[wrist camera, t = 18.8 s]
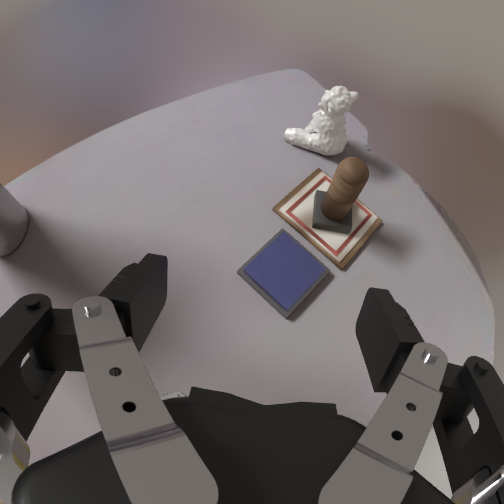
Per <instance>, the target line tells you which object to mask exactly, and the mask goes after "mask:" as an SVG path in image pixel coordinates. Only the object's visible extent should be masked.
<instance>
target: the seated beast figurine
mask: <svg viewBox="0 0 504 504" xmlns="http://www.w3.org/2000/svg"><path fill="white" fill-rule="evenodd" d="M357 98H358V93H357V92H348V90H347V89H346V87H343V86H335V87H333V88H332V90H330V91H329V90H326V91H325V94H324V96H323V97H322V98H321V102H320V103H319V107H320V110H318V111H316V112H314V113H313V115H312V116H313V119H312V121H311V122H310V125H308V126H307V127H306V128H305V130H303V129H300V128H287V130H286V132H285V135H284V139H285V140H286V141H287V142H289V143H291V145H296V146H299V147H302V148H305V149H306V150H311V151H313V152H317V153H320V154H322V155H326V156H330V155H336V154H338V153H340V152H343V150H344V148H345V146H346V144H347V143H348V141H347V140H348V139H347V135H346V132H345V131H346V129H345V124H346V123H345V115H344V113H346V112H348V111H349V109H350V108H351V105H352V102H353V101H356V100H357Z"/></svg>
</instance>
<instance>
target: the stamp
mask: <svg viewBox="0 0 504 504" xmlns="http://www.w3.org/2000/svg"><path fill="white" fill-rule="evenodd" d="M368 178H369V169H368V167H367V165H366V163H365V162H364V161H363V160H361V159H360V158H357V157H347V158H345V159H343V160H342V161H341V162H340V163H339V165H338V167H337V170H336V172H335V174H334V177H333V179H332V181H331V183H330V186H329V188H328V190H327V192H326V191H320V190H316V193H315V195H314V207H313V220H312V228H316V229H321V230H327V231H332V232H338V233H343V234H349V233H350V231H351V230H352V206H353V204H354V202H355V201H356V199H357V197H358V196H359V194H360V192H361V191H362V189H363V187H364V186H365V184H366V182H367V181H368Z"/></svg>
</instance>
